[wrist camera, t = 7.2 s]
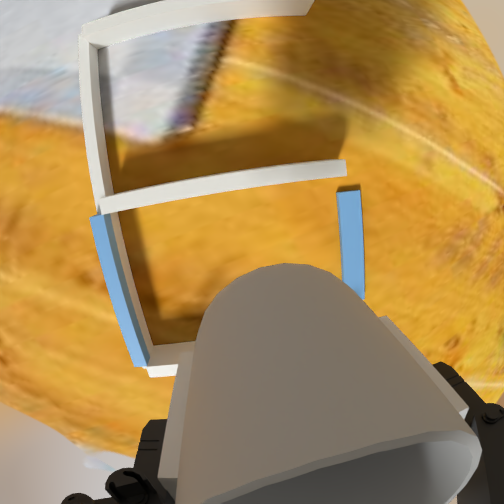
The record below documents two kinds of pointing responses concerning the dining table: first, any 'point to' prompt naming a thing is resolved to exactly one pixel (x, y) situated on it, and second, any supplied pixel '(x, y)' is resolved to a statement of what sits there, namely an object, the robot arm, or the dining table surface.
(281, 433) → the cup
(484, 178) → the dining table surface
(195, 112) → the dining table surface
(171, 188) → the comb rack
